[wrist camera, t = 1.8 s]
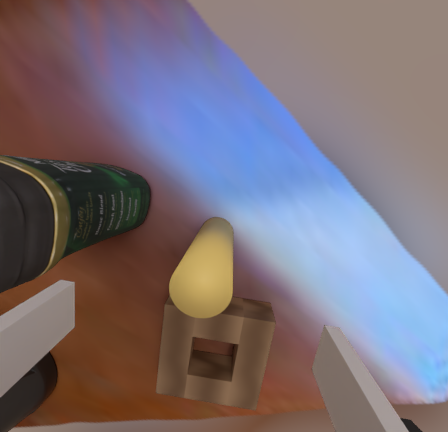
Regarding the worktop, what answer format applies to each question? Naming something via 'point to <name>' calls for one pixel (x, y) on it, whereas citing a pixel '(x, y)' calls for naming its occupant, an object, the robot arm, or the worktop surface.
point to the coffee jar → (61, 211)
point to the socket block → (215, 363)
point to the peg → (205, 272)
